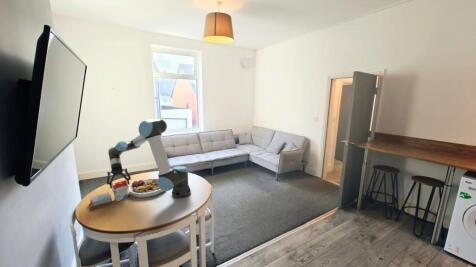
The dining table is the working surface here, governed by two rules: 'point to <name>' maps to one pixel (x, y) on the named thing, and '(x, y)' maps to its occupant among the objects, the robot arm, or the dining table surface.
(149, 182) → the bowl
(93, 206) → the tower base
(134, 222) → the dining table surface
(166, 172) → the robot arm
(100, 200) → the tower top
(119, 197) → the ink box
